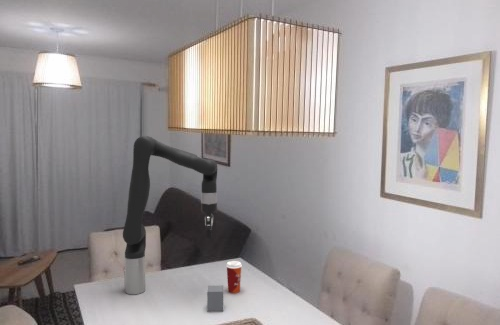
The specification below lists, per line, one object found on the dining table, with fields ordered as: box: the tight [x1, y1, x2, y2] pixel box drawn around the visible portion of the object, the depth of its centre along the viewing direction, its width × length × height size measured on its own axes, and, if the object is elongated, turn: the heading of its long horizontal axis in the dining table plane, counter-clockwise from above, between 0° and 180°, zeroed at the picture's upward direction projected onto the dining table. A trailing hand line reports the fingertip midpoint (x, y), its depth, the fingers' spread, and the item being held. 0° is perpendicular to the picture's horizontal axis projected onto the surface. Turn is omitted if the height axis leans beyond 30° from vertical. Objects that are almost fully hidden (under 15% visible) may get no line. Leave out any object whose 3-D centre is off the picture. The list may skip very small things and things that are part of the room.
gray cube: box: [206, 284, 224, 313], centre depth 172 cm, size 7×7×9 cm
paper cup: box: [225, 260, 243, 294], centre depth 191 cm, size 8×8×14 cm
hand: (209, 235), depth 187 cm, fingers open, 8 cm apart
